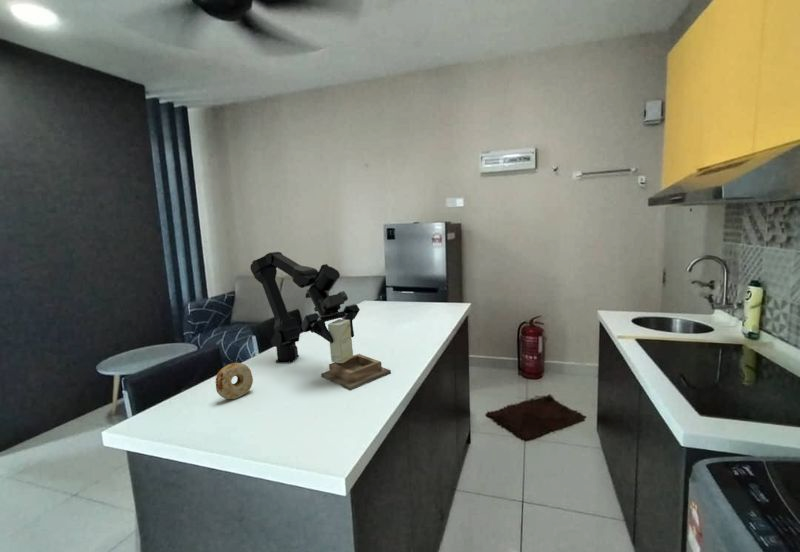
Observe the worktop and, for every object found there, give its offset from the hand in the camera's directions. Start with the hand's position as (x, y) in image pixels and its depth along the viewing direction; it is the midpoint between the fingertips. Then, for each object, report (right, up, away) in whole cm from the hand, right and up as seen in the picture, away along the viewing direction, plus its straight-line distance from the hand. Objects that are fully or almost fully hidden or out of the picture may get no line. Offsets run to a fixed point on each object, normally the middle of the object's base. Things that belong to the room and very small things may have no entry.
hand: (343, 339), depth 117 cm
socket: (+3, -12, +6) cm, 14 cm away
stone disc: (-31, -16, -4) cm, 35 cm away
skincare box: (-1, -7, +2) cm, 7 cm away
